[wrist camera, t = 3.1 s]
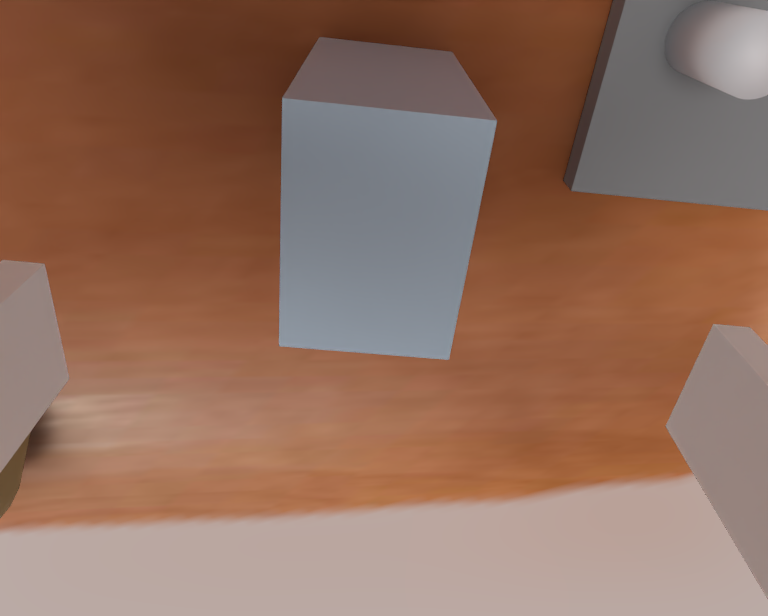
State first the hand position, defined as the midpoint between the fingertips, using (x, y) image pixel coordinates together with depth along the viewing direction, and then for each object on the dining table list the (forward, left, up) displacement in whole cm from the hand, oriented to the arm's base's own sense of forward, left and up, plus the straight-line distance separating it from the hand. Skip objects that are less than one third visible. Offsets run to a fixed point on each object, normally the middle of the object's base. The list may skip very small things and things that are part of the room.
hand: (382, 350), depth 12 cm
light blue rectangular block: (0, 0, -14) cm, 14 cm away
